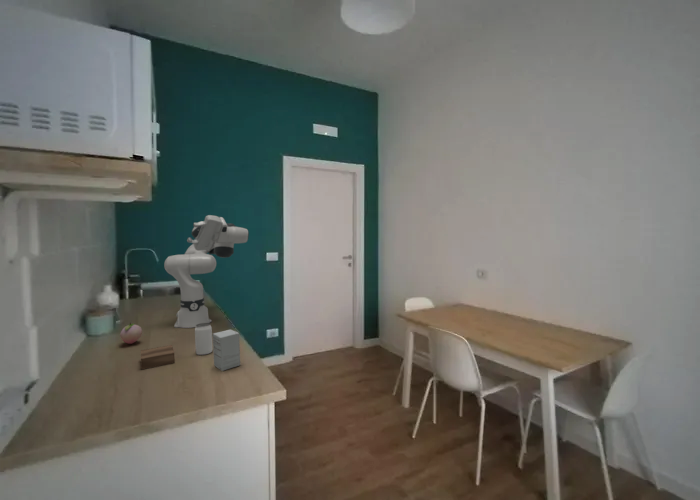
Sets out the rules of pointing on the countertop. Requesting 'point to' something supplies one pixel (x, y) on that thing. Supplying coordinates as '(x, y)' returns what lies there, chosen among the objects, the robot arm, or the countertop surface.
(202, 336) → the can
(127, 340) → the decorative fruit
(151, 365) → the walnut base
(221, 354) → the supplement box
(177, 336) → the countertop surface
